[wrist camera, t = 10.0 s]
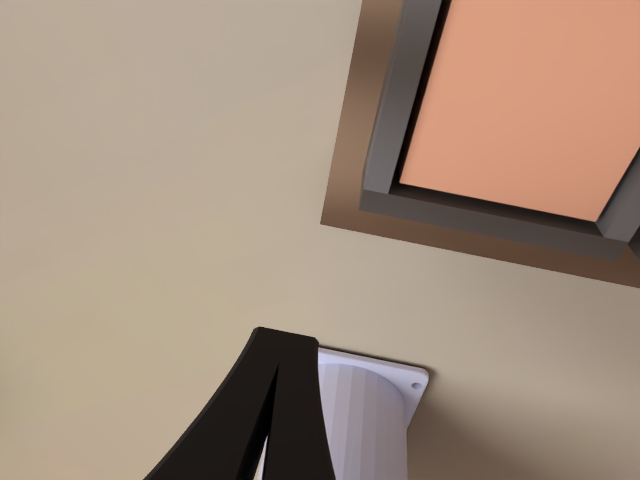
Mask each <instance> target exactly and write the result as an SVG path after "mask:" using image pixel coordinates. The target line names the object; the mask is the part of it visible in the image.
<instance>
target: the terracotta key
mask: <svg viewBox="0 0 640 480" xmlns="http://www.w3.org/2000/svg"><path fill="white" fill-rule="evenodd" d="M639 147H640V0H442V2H441V5H440V9H439V13H438V16H437V20H436V24H435V27H434V31H433V34H432V38H431V42H430V45H429V49H428V52H427V56H426V60H425V63H424V67H423V71H422V74H421V78H420V81H419V85H418V89H417V92H416V96H415V99H414V103H413V107H412V110H411V114H410V117H409V121H408V125H407V128H406V132H405V136H404V139H403V143H402V146H401V150H400V154H399V183H403V184H408V185H413V186H418V187H423V188H428V189H433V190H438V191H443V192H448V193H453V194H458V195H463V196H468V197H473V198H478V199H483V200H488V201H493V202H498V203H503V204H509V205H514V206H519V207H524V208H529V209H534V210H539V211H544V212H549V213H554V214H559V215H564V216H569V217H574V218H579V219H584V220H589V221H594V222H596V220H597V219H598V217H599V215H600V214H601V212H602V210H603V208H604V207H605V205H606V203H607V202H608V200H609V198H610V197H611V195H612V193H613V191H614V190H615V188H616V186H617V185H618V183H619V181H620V180H621V178H622V176H623V174H624V173H625V171H626V169H627V168H628V166H629V164H630V163H631V161H632V159H633V157H634V156H635V154H636V152H637V151H638V149H639Z"/></svg>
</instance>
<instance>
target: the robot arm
mask: <svg viewBox="0 0 640 480" xmlns="http://www.w3.org/2000/svg"><path fill="white" fill-rule="evenodd" d="M318 346H319V342H318V341H317V339H316V338H315V337H310V336H305V335H300V334H295V333H289V332H284V331H279V330H274V329H269V328H264V327H257V328H255V329H254V330H253V332H252V334H251V336H250V338H249V340H248V342H247V344H246V346H245V347H244V349H243V351H242V353H241V354H240V356H239V358H238V359H237V361H236V362H235V364H234V366H233V367H232V369H231V370H230V372H229V373H228V375H227V376H226V378H225V379H224V381H223V382H222V383H221V385H220V386H219V388H218V389H217V390H216V392H215V393H214V394H213V396H212V397H211V399H210V400H209V401H208V403H207V404H206V406H205V407H204V408H203V410H202V411H201V412H200V413H199V415H198V416H197V417H196V418H195V420H194V421H193V422H192V423H191V425H190V426H189V427H188V428H187V430H186V431H185V432H184V433H183V435H182V436H181V437H180V438H179V439H178V441H177V442H176V443H175V444H174V446H173V447H172V448H171V449H170V450H169V451H168V453H167V454H166V455H165V456H164V457H163V458H162V459H161V461H160V462H159V463H158V464H157V465H156V466H155V467H154V468H153V470H152V471H151V472H150V473H149V474H148V475H147V476H146V477H145V478H144V479H143V480H253V479H254V476H255V473H256V470H257V467H258V463H259V460H260V457H261V454H262V451H263V448H264V446H265V448H264V452H263V456H262V461H261V465H260V469H259V473H258V478H257V480H408V473H407V434H406V430H407V428H408V426H409V424H410V422H411V419H412V417H413V415H414V413H415V410H416V408H417V406H418V404H419V402H420V399H421V397H422V395H423V393H424V390H425V388H426V386H427V384H428V382H429V374H428V372H427V371H426V370H425V369H422V368H418V367H413V366H408V365H403V364H398V363H393V362H388V361H383V360H378V359H373V358H369V357H364V356H359V355H354V354H349V353H344V352H339V351H334V350H329V349H324V348H319V347H318Z"/></svg>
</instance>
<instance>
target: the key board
mask: <svg viewBox="0 0 640 480" xmlns="http://www.w3.org/2000/svg"><path fill="white" fill-rule="evenodd" d="M441 2H442V0H363V1H362V6H361V12H360V17H359V22H358V28H357V33H356V38H355V43H354V49H353V54H352V59H351V64H350V70H349V75H348V80H347V85H346V91H345V96H344V101H343V107H342V112H341V117H340V122H339V128H338V133H337V138H336V143H335V149H334V154H333V159H332V164H331V170H330V175H329V180H328V186H327V191H326V196H325V201H324V207H323V212H322V217H321V222H320V224H322V225H327V226H332V227H337V228H342V229H347V230H352V231H357V232H362V233H367V234H372V235H377V236H382V237H387V238H392V239H397V240H402V241H407V242H412V243H417V244H422V245H427V246H432V247H437V248H442V249H447V250H452V251H457V252H462V253H467V254H472V255H477V256H482V257H487V258H492V259H497V260H502V261H507V262H512V263H517V264H522V265H527V266H532V267H536V268H541V269H546V270H551V271H556V272H561V273H566V274H571V275H576V276H581V277H586V278H591V279H596V280H601V281H606V282H611V283H616V284H621V285H626V286H631V287H636V288H640V147H639V149H638V151H637V152H636V154H635V156H634V157H633V159H632V161H631V163H630V164H629V166H628V168H627V169H626V171H625V173H624V174H623V176H622V178H621V180H620V181H619V183H618V185H617V186H616V188H615V190H614V191H613V193H612V195H611V197H610V198H609V200H608V202H607V203H606V205H605V207H604V208H603V210H602V212H601V214H600V215H599V217H598V219H597V220H596V222H594V221H589V220H584V219H579V218H574V217H569V216H564V215H559V214H554V213H549V212H544V211H539V210H534V209H529V208H524V207H519V206H514V205H509V204H503V203H498V202H493V201H488V200H483V199H478V198H473V197H468V196H463V195H458V194H453V193H448V192H443V191H438V190H433V189H428V188H423V187H418V186H413V185H408V184H403V183H399V154H400V150H401V146H402V143H403V139H404V136H405V132H406V128H407V125H408V121H409V117H410V114H411V110H412V107H413V103H414V99H415V96H416V92H417V89H418V85H419V81H420V78H421V74H422V71H423V67H424V63H425V60H426V56H427V52H428V49H429V45H430V42H431V38H432V34H433V31H434V27H435V24H436V20H437V16H438V13H439V9H440V5H441Z"/></svg>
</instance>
